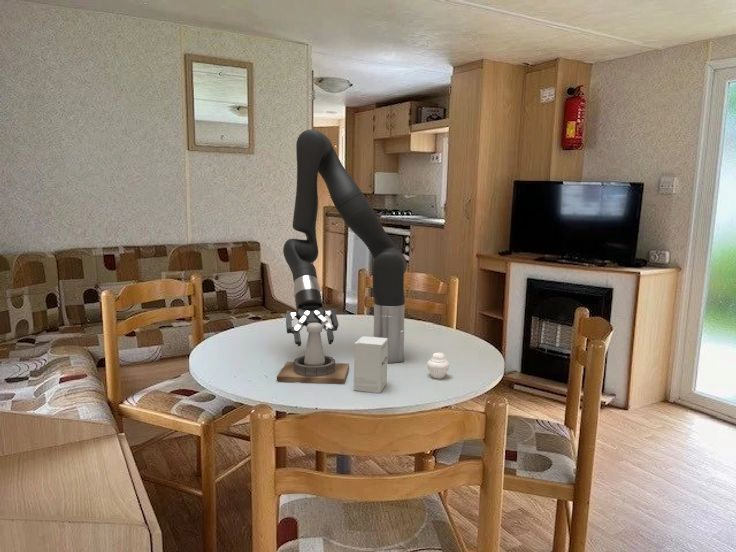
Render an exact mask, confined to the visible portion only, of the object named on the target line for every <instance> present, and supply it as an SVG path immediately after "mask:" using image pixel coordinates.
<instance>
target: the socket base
mask: <svg viewBox="0 0 736 552" xmlns="http://www.w3.org/2000/svg"><path fill="white" fill-rule="evenodd" d="M324 358H325V364H324V365H322V366H305V364H304V359H305V355H303V356H299V357H296V358H295V359H294V360H293V361H286V362H285V364H284V365H283V367H282V368H281V370H280V371H279V372H278V374H277V375H276V382H277V381H278V382H277V383H295V382H301V383H302V384H327V385H329V384H331V385H345V383H346V380H347V378H348V373H349V371H348V370H350V363H343V362H336V359H334V358H333V357H331V356H328V355H324Z"/></svg>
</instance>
